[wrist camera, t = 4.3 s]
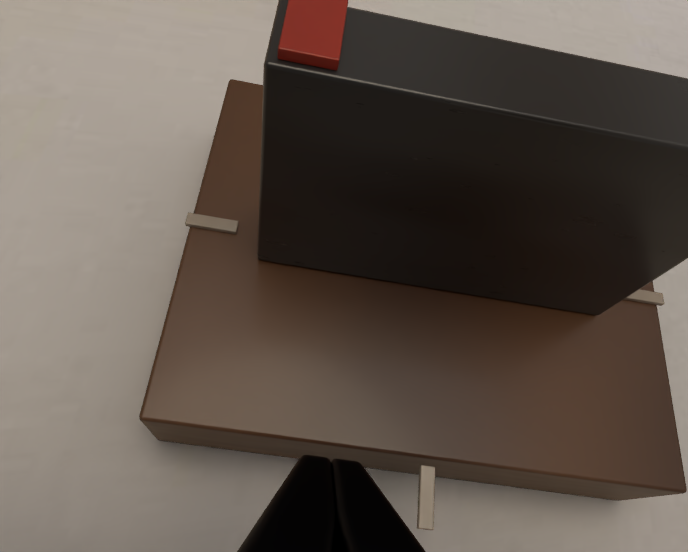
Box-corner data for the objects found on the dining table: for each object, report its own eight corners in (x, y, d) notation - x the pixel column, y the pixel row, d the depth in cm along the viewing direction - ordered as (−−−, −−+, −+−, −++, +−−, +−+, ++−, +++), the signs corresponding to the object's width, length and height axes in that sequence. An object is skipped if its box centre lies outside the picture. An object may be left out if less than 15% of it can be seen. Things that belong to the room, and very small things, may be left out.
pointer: (592, 262, 17) (805, 90, 10) (599, 316, 16) (834, 166, 10) (267, 206, 16) (281, -23, 10) (256, 260, 15) (264, 51, 9)
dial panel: (584, 171, 23) (632, 118, 20) (628, 559, 16) (708, 563, 13) (237, 105, 21) (235, 38, 18) (137, 500, 15) (111, 491, 12)
